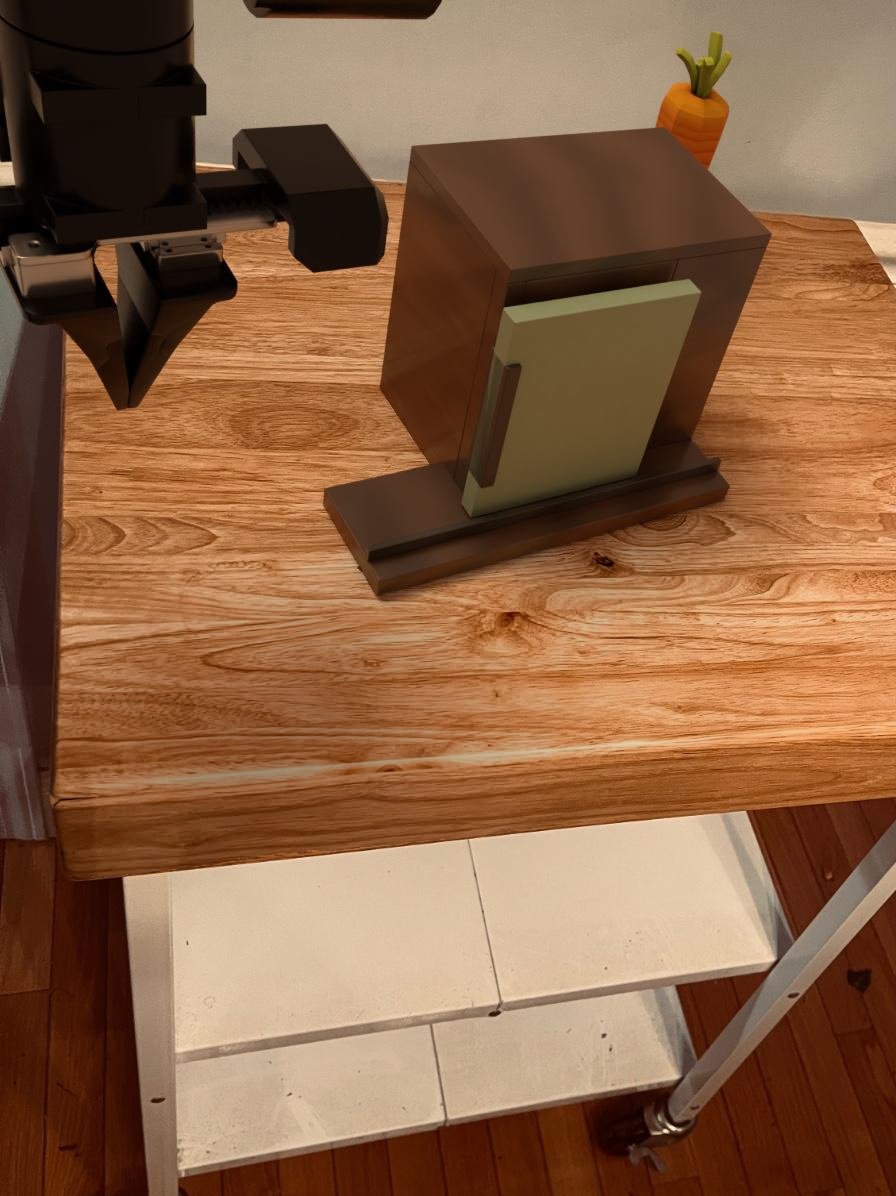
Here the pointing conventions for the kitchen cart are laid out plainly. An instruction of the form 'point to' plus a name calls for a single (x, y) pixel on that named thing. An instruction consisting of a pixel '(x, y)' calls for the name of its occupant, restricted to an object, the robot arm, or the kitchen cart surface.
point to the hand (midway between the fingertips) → (123, 402)
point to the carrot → (698, 103)
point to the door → (574, 393)
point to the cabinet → (529, 275)
